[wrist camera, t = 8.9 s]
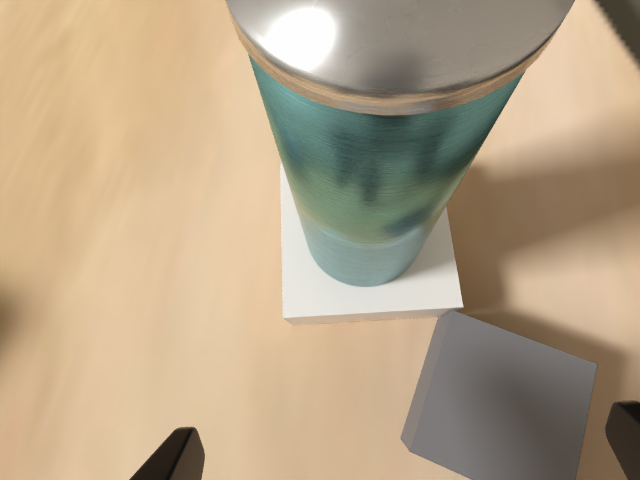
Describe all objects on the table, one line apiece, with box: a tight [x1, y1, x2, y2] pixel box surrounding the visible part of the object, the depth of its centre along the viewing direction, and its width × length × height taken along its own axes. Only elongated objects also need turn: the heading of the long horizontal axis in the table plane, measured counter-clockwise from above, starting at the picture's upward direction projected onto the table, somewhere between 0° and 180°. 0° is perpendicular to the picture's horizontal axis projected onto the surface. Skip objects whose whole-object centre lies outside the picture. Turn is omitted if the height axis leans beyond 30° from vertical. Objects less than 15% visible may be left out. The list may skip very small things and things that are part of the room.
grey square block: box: [401, 310, 597, 480], centre depth 17 cm, size 6×6×3 cm
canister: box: [225, 0, 575, 287], centre depth 12 cm, size 6×6×13 cm
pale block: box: [280, 162, 463, 325], centre depth 20 cm, size 8×8×3 cm
